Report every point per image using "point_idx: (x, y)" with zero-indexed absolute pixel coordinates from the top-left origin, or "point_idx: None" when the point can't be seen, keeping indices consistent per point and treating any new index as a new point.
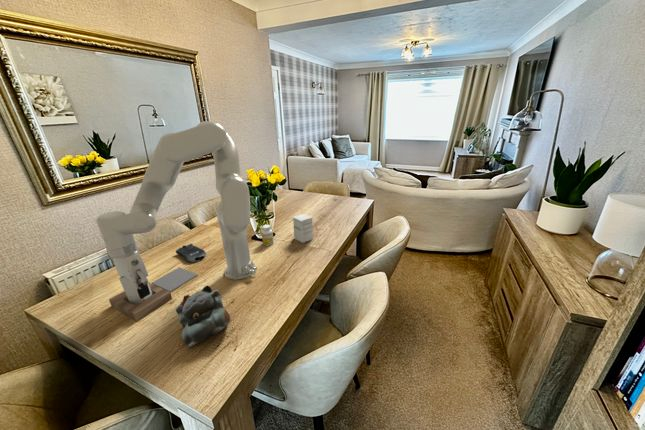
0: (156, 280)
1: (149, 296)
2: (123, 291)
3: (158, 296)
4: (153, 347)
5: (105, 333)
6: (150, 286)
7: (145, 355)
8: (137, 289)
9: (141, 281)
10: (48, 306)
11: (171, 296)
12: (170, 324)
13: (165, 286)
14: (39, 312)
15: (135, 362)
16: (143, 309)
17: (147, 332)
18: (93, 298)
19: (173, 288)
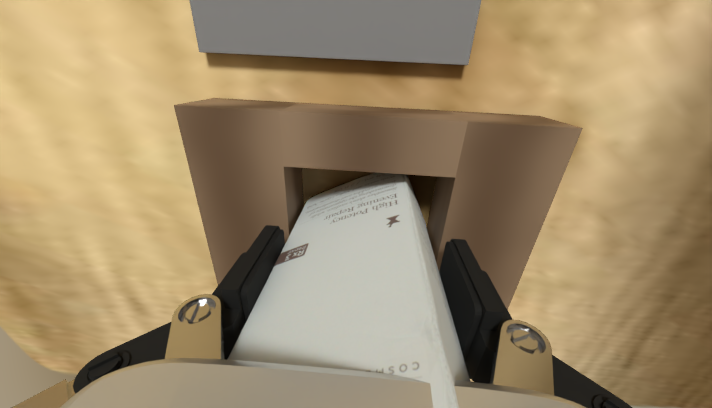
0: (199, 3)
1: (419, 211)
2: (210, 252)
3: (514, 204)
4: (672, 352)
5: None
6: (323, 143)
7: (661, 375)
8: (471, 377)
9: (462, 370)
10: (39, 348)
11: (552, 120)
12: (680, 264)
13: (365, 32)
14: (64, 367)
15: (641, 393)
16: (507, 302)
17: (584, 320)
18: (102, 276)
19: (465, 20)
